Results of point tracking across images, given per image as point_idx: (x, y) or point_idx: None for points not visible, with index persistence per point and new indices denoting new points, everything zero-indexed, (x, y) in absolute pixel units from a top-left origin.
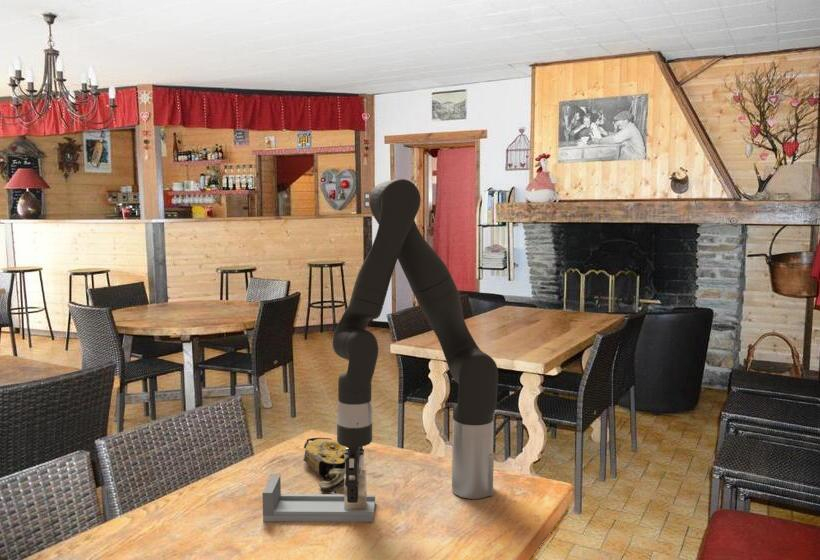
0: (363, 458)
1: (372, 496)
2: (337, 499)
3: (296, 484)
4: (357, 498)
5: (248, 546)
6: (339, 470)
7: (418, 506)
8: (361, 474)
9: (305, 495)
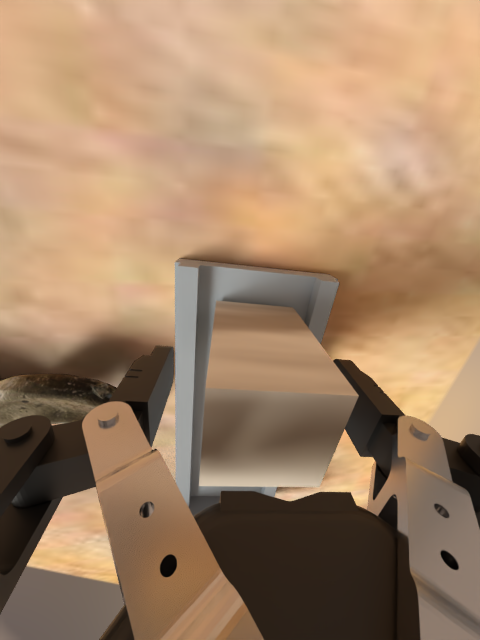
0: (159, 506)
1: (195, 278)
2: (194, 387)
3: None
4: (358, 369)
5: (358, 497)
6: (4, 419)
7: (220, 21)
8: (283, 415)
9: (185, 465)
